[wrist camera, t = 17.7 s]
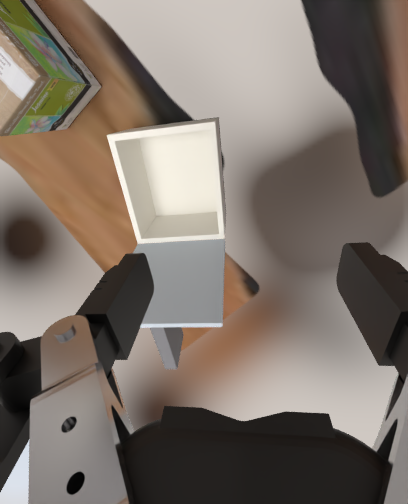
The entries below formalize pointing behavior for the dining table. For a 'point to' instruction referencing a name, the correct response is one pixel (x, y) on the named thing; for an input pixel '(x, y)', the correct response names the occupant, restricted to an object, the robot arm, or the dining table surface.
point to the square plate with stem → (183, 291)
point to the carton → (172, 180)
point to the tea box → (38, 73)
